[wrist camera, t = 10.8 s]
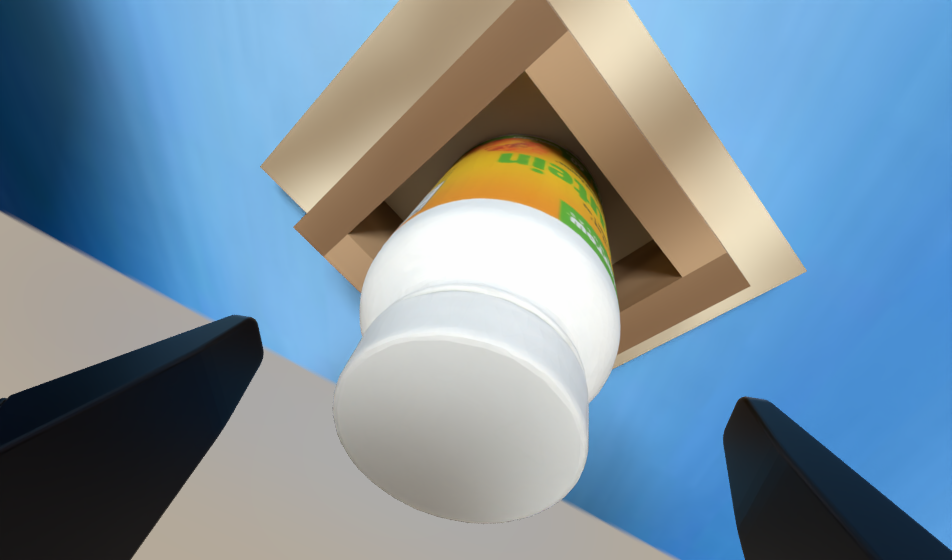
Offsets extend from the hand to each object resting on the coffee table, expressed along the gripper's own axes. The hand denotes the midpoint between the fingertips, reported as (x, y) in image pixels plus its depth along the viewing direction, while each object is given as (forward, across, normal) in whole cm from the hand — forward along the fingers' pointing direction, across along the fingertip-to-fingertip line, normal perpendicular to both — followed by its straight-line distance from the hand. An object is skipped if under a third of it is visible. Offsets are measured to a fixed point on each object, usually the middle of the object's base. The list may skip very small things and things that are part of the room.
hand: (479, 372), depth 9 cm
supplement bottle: (+8, 0, 0) cm, 8 cm away
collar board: (+9, 0, 0) cm, 9 cm away
